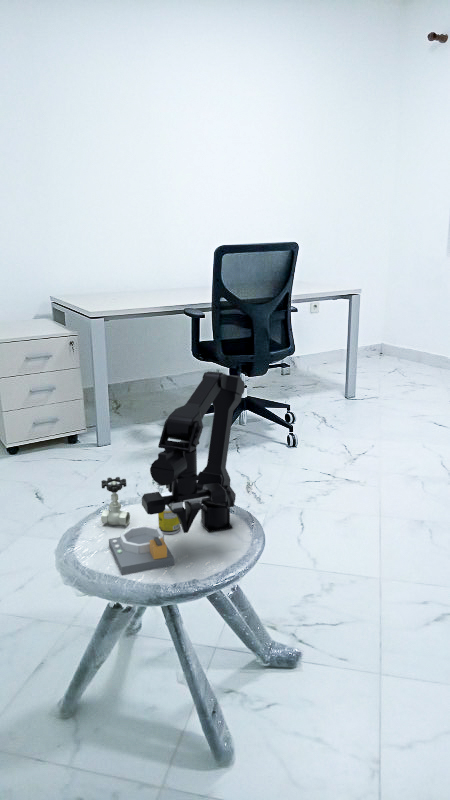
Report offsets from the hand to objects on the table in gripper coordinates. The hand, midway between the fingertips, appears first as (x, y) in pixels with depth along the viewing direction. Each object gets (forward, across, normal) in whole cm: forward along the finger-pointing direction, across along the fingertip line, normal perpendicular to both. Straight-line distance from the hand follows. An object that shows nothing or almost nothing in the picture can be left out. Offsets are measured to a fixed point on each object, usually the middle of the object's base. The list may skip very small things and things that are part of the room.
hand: (185, 532), depth 145 cm
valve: (+7, +12, -23) cm, 26 cm away
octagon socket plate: (+6, +10, -5) cm, 12 cm away
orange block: (+4, +7, 0) cm, 8 cm away
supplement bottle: (+7, 0, -15) cm, 16 cm away
